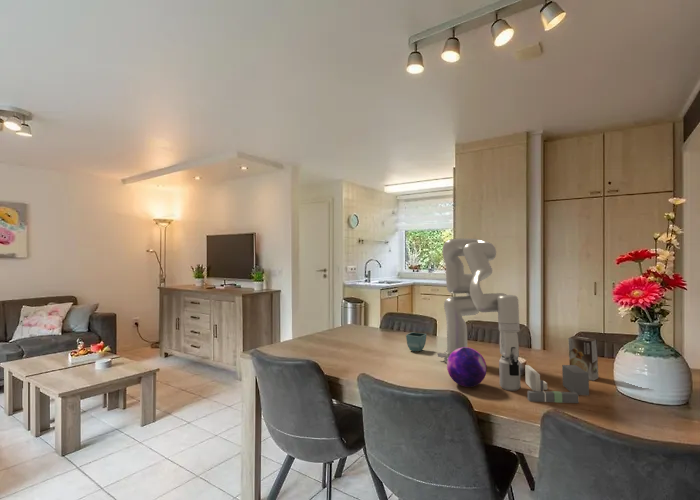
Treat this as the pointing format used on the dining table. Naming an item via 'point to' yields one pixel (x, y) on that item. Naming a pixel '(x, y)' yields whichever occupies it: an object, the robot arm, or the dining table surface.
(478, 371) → the decorative orb
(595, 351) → the coffee box
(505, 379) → the can
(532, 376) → the plate
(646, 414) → the dining table surface
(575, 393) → the frame
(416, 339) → the flower pot
